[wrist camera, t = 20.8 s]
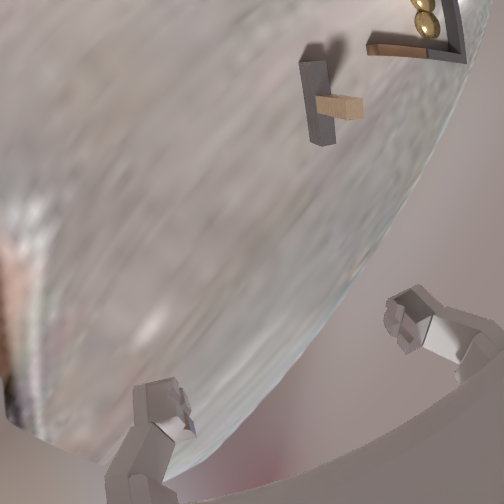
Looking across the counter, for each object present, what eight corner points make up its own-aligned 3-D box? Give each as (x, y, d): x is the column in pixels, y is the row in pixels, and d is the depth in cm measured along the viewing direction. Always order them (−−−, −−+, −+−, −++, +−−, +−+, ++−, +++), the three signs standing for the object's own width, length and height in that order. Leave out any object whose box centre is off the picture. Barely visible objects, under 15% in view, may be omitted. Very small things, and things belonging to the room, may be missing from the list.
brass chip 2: (410, 13, 28) (417, 13, 27) (427, 11, 28) (434, 10, 27) (419, 40, 31) (426, 40, 29) (436, 36, 31) (443, 36, 29)
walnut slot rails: (347, -43, 22) (358, -48, 20) (397, -32, 24) (409, -35, 22) (367, 55, 31) (379, 55, 29) (414, 57, 32) (426, 58, 30)
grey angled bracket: (400, -31, 24) (411, -34, 22) (442, -17, 25) (453, -19, 23) (417, 57, 32) (429, 58, 30) (455, 62, 33) (466, 64, 31)
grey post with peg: (298, 62, 30) (339, 58, 22) (313, 61, 30) (357, 58, 23) (309, 141, 35) (350, 159, 28) (323, 138, 35) (366, 156, 28)
